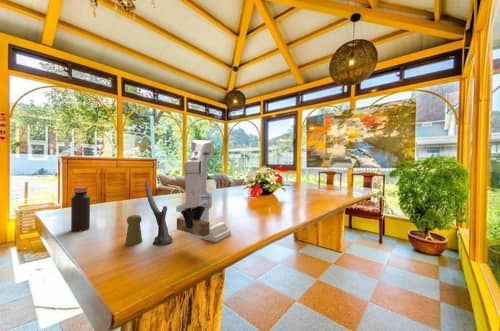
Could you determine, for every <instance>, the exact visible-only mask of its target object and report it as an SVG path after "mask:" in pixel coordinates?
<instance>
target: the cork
mask: <svg viewBox="0 0 500 331" xmlns="http://www.w3.org/2000/svg"><path fill="white" fill-rule="evenodd" d="M141 223H142V216H141V215H140V214H132V215H129V216H127V218H126V224H128V225H127V232H126V235H125V236H126V237H125V245H126V246H136V245H139V244H142V242H143V238H142V237H143V236H142V230H141V229H142V228H141Z"/></svg>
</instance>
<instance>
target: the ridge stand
mask: <svg viewBox="0 0 500 331" xmlns="http://www.w3.org/2000/svg"><path fill="white" fill-rule="evenodd" d="M231 231H232V230H231V229H228V225H227V223H226V221H225V222H223V221H220V222H218V223H215V224H212V226H210V229H209V235H206V236H204V237H203V236H200V238H201V239H202V240H204V241H205V240H206V241H209V242H212V243H213V242H214V243H218V242H219V241H221V240H222V239H225V238H227V237H228V236H231Z"/></svg>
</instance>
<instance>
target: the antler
mask: <svg viewBox="0 0 500 331" xmlns="http://www.w3.org/2000/svg"><path fill="white" fill-rule="evenodd" d="M144 187H145V192H146V197H147V200H148V204H149V207H150V209H151V211H152V213H153V215H154V216H155V221H156V224H157V227H158V229H157V236H156V237H154V239H153V242H152V244H153V245H154V246H155V245H157V246H158V245H159V246H163V245H166V244H169V243H172V241H173V240H174V238H173V237H172V235H170V234H169V228H168V225H167V223H166V222H167V221H166V216H167V211H168V206H166V205H164V206H162V209H161V211H160V209H159V207H158V206H157V204H156V202H155V200H154V197H153V194H152V192H151V189H150V185H149V183H148V180H147V181H145V182H144Z"/></svg>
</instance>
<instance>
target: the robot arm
mask: <svg viewBox="0 0 500 331" xmlns="http://www.w3.org/2000/svg"><path fill="white" fill-rule="evenodd" d="M190 146H191V148H190V149H191V153H190V155H189V158H188V159H187V160H186V161H184V163H183V164H184V165H183V173H184V180H185V198H184V199H185V200H184V201H185V202H184V203H181V204H179V205H176V208H175V209H176V212H177V213H180V214H181V215H182V217H184V219H185V223H186V227H187V228H189V229H191V228H192V225H193V219H197V220H202V221H206V222H210V219H209V218H210V210H211V208H212V205H213V195H212V192H210V191H209V190H208V185H207V184H208V183H207V182H208V161H209V158H212V157H213V146H214V145H213V141H212V140H201V139H200V140H198V139H192V140H191V145H190ZM211 226H213V224H211V223H210V227H211Z"/></svg>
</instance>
